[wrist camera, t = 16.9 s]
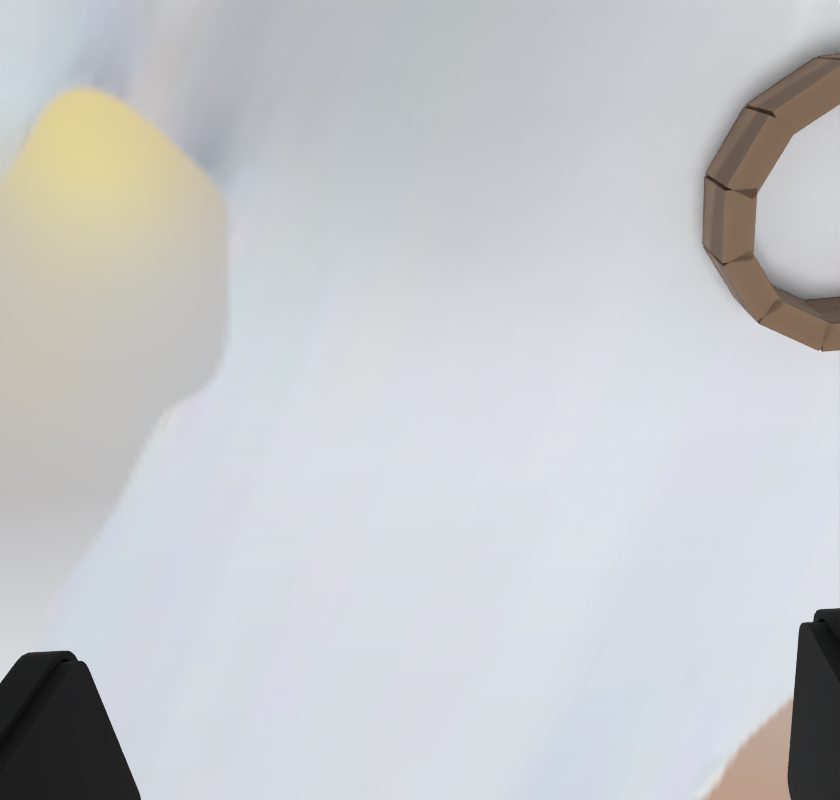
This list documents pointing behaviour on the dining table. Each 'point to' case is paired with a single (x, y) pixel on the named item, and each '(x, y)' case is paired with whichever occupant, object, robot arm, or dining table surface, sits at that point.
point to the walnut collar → (737, 194)
